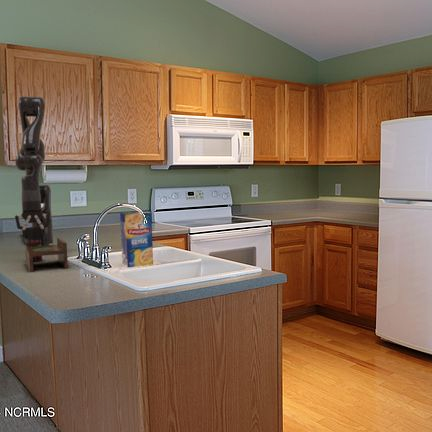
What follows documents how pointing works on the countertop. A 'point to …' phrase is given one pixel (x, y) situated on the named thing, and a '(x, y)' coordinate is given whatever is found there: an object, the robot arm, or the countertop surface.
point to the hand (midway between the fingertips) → (33, 237)
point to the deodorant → (34, 240)
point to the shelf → (47, 253)
